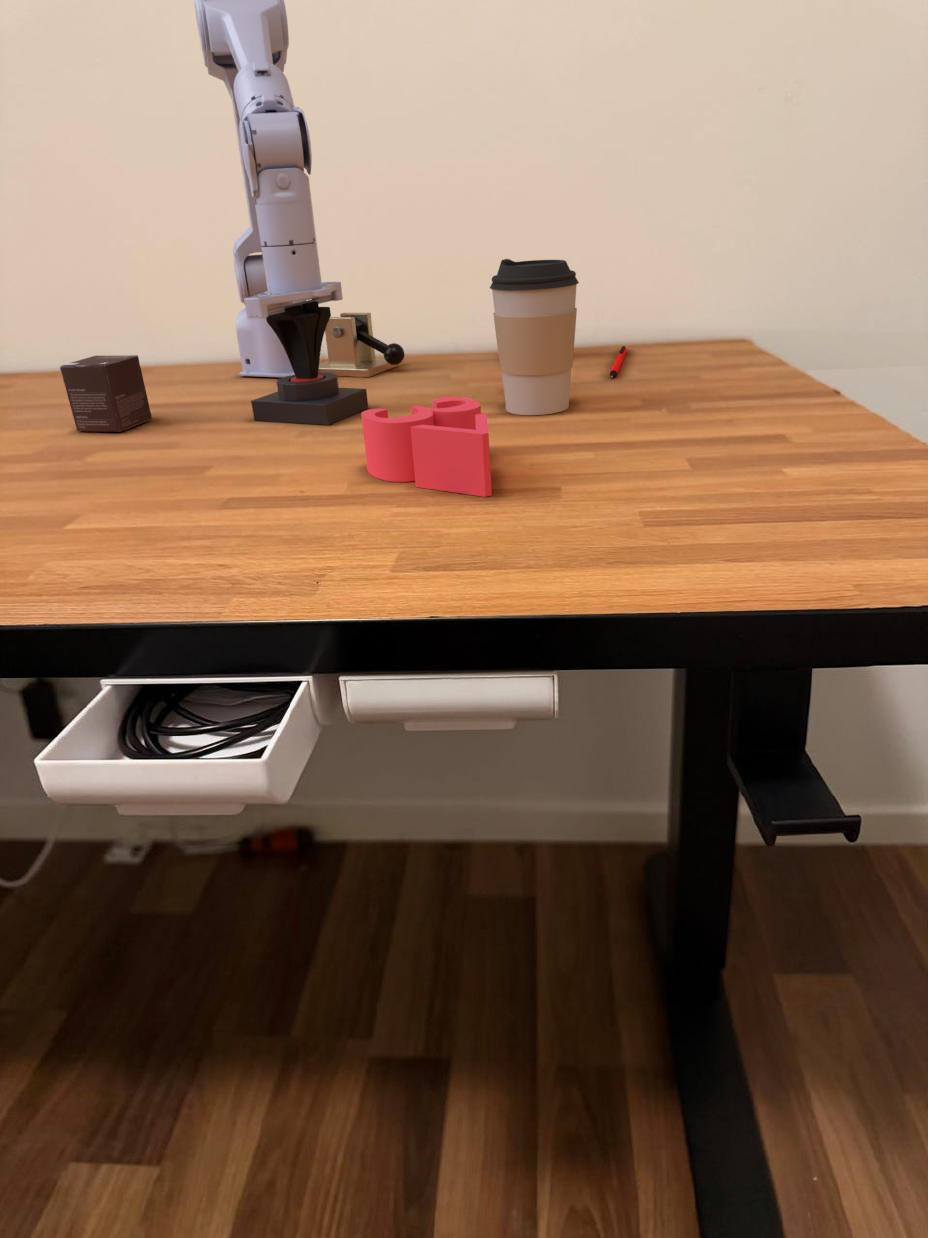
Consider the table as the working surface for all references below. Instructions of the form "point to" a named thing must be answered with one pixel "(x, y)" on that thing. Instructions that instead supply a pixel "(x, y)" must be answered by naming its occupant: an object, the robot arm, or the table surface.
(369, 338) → the black lever handle
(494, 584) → the table surface
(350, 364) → the lever bracket
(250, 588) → the table surface
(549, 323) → the coffee cup
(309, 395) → the block
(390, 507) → the table surface
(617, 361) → the pen
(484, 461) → the letters
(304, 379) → the button
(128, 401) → the box
